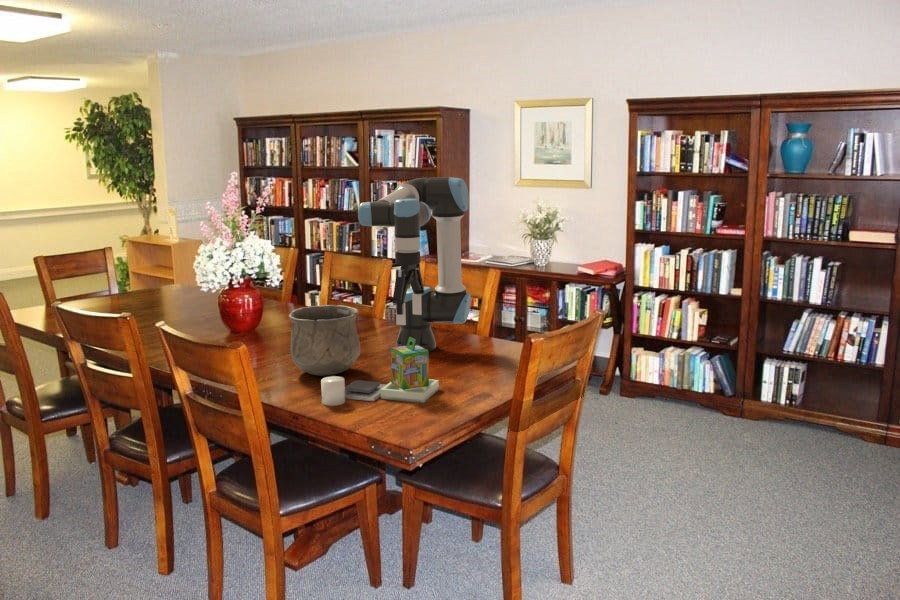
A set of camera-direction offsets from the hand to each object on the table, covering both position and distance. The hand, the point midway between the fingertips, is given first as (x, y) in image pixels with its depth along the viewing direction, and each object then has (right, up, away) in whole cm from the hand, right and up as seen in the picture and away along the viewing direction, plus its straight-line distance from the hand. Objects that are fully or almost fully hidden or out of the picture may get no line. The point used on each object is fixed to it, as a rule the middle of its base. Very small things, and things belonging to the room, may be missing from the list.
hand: (409, 319), depth 237 cm
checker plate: (-15, -22, +5) cm, 27 cm away
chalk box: (0, -21, +4) cm, 21 cm away
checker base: (-15, -23, +6) cm, 28 cm away
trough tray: (0, -23, +4) cm, 24 cm away
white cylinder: (-23, -25, -3) cm, 34 cm away
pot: (-30, -19, +27) cm, 44 cm away
